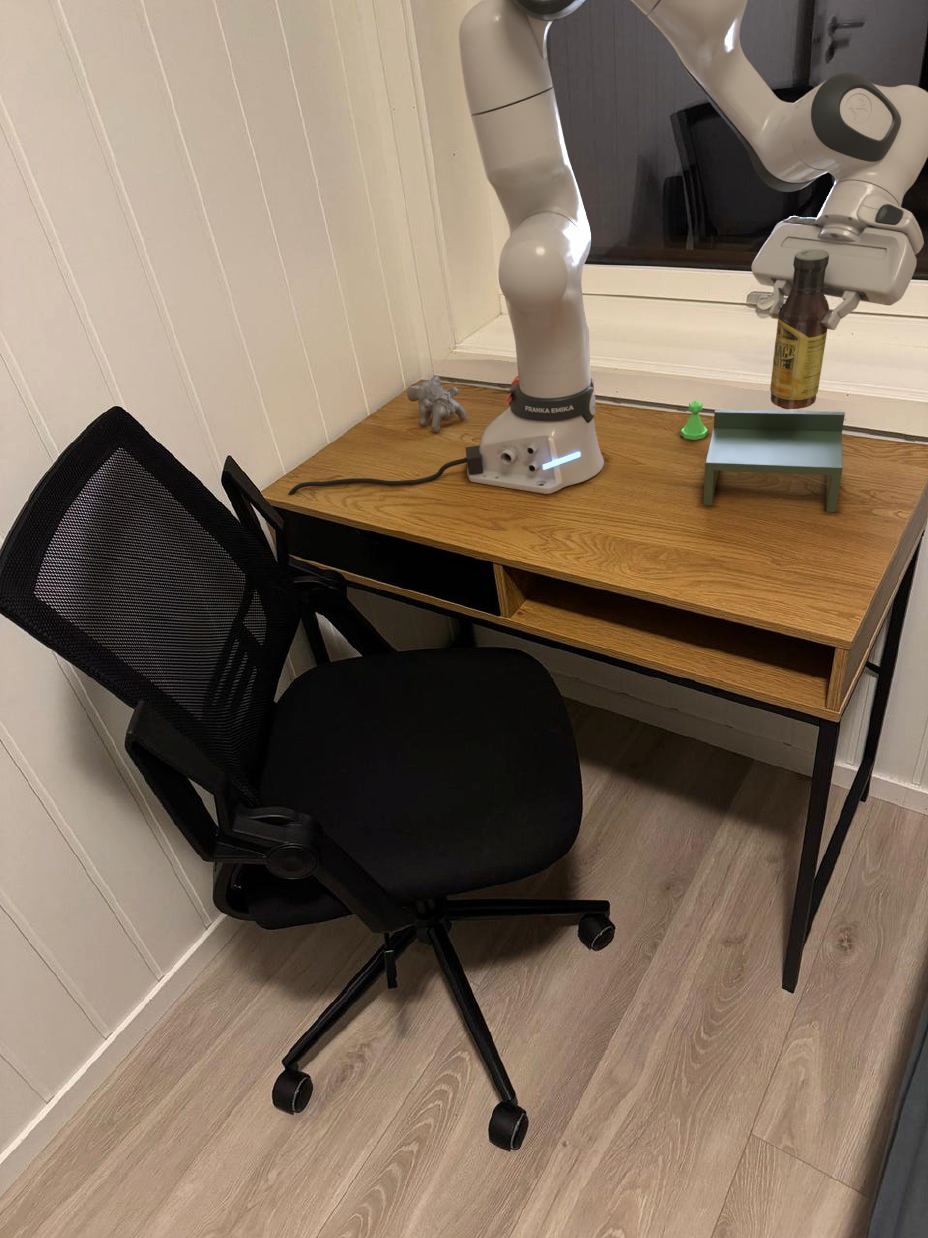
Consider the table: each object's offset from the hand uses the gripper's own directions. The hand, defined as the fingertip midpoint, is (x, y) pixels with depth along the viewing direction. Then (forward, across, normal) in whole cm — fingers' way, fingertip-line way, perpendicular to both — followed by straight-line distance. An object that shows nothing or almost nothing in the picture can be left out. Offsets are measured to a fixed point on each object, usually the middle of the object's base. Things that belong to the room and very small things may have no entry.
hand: (800, 322), depth 111 cm
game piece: (+12, -22, +23) cm, 34 cm away
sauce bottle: (+8, 0, +9) cm, 12 cm away
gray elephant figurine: (+29, -64, +6) cm, 70 cm away
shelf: (+18, -2, +17) cm, 25 cm away
